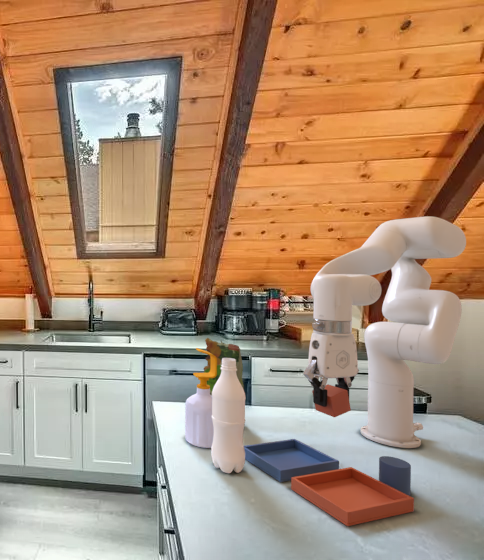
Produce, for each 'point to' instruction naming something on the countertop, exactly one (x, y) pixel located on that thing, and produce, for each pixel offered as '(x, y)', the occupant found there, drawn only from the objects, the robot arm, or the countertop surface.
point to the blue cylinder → (395, 473)
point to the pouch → (221, 352)
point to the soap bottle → (201, 409)
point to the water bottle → (228, 419)
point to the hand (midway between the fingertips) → (331, 403)
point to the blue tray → (289, 459)
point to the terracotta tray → (352, 495)
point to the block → (335, 402)
